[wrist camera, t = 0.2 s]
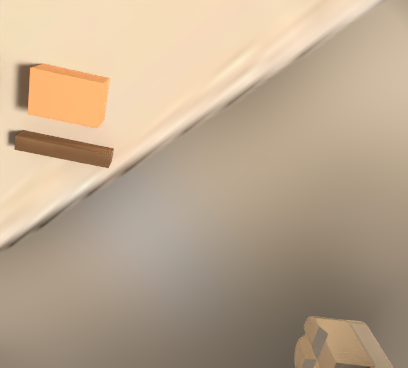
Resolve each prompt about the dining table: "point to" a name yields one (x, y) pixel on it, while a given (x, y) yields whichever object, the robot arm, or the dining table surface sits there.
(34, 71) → the orange block
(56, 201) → the dining table surface
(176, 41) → the dining table surface
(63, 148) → the walnut board
